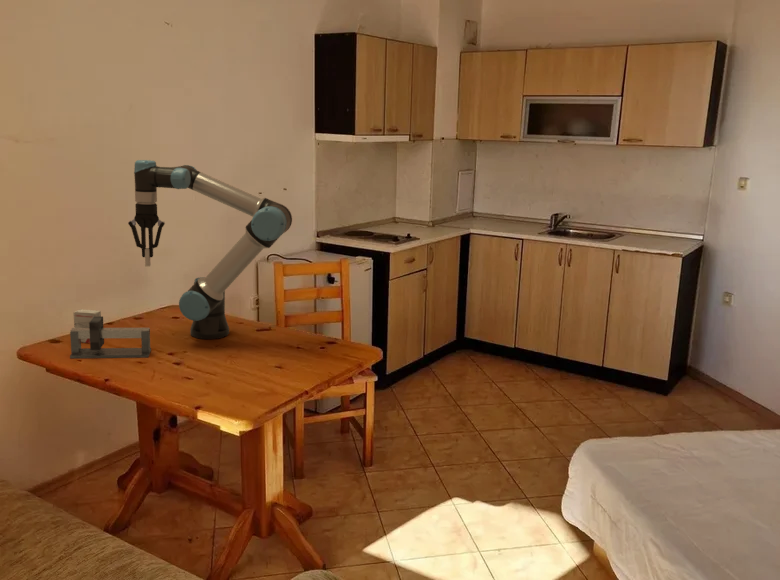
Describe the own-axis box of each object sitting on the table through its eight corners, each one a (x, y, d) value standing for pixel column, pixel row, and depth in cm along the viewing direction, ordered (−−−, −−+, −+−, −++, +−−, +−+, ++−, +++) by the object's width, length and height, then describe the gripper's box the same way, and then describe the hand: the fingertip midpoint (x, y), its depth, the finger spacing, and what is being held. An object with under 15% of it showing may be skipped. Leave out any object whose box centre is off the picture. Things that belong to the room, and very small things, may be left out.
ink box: (103, 340, 260) (101, 310, 258) (96, 343, 256) (95, 313, 253) (81, 338, 261) (80, 308, 258) (74, 341, 256) (72, 311, 254)
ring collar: (104, 342, 248) (103, 316, 246) (99, 350, 240) (98, 322, 238) (95, 343, 247) (94, 316, 245) (90, 350, 240) (89, 322, 237)
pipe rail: (151, 350, 252) (150, 325, 250) (148, 357, 244) (147, 331, 242) (75, 351, 247) (74, 325, 244) (70, 358, 239) (68, 331, 237)
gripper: (165, 202, 256) (167, 264, 261) (129, 201, 253) (131, 263, 258) (163, 204, 248) (164, 268, 254) (125, 203, 246) (127, 267, 251)
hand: (147, 265), depth 256 cm, fingers closed
